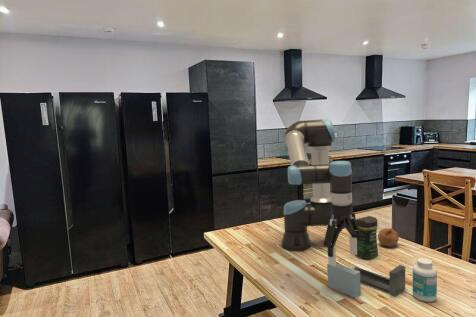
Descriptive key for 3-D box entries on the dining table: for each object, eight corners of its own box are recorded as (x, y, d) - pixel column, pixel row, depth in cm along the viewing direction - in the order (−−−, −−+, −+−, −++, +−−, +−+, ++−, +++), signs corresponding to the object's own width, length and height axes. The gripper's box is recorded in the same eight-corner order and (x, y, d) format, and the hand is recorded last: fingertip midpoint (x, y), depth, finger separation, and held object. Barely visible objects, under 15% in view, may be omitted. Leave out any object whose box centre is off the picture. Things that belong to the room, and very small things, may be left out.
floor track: (345, 277, 129) (345, 257, 128) (356, 271, 134) (356, 251, 133) (395, 296, 114) (394, 273, 113) (405, 288, 119) (405, 266, 118)
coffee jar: (366, 261, 143) (366, 221, 141) (353, 255, 150) (352, 217, 148) (381, 256, 147) (380, 217, 145) (367, 250, 154) (366, 213, 152)
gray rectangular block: (327, 286, 124) (327, 264, 123) (332, 283, 126) (332, 261, 125) (355, 298, 114) (355, 274, 113) (360, 295, 116) (360, 271, 115)
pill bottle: (408, 292, 116) (407, 257, 114) (427, 290, 116) (427, 255, 115) (421, 303, 108) (421, 266, 107) (441, 301, 109) (442, 264, 108)
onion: (391, 254, 155) (393, 240, 150) (373, 244, 162) (374, 230, 157) (401, 243, 160) (403, 228, 155) (383, 234, 166) (384, 220, 161)
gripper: (329, 212, 106) (331, 273, 108) (369, 198, 121) (370, 252, 123) (311, 208, 112) (313, 266, 114) (351, 196, 127) (352, 247, 129)
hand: (343, 259), depth 118 cm, fingers open, 13 cm apart
